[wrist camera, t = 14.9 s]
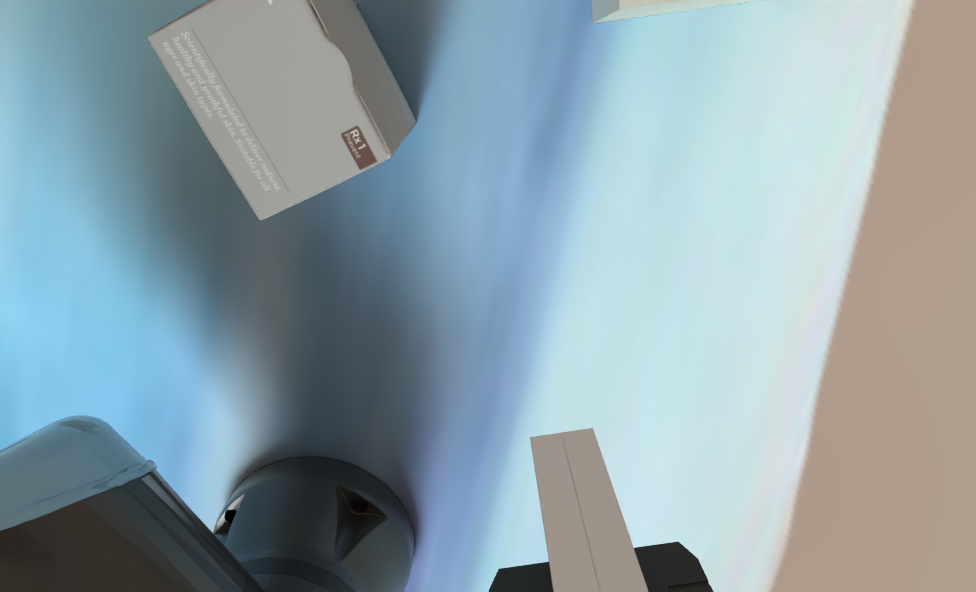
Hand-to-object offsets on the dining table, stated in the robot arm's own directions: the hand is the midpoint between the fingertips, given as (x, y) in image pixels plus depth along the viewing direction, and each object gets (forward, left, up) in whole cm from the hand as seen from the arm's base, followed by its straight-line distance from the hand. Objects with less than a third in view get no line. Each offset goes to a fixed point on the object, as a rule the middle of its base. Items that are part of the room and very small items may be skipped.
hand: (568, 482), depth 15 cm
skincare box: (-10, +10, -28) cm, 32 cm away
